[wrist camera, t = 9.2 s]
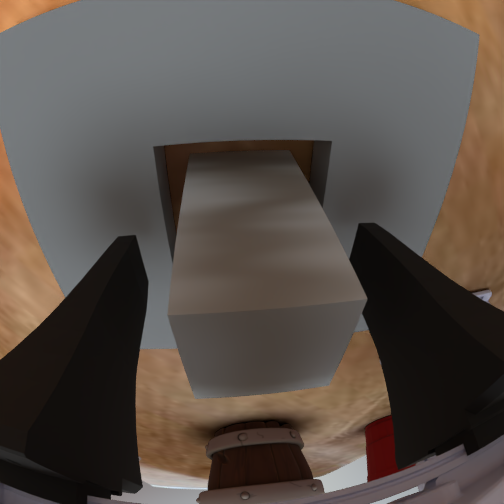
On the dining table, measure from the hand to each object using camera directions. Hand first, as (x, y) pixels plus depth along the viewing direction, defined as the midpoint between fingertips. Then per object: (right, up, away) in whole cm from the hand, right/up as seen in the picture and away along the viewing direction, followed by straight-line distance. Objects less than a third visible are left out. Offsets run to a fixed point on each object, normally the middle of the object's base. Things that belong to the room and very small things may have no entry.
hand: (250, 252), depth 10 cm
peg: (0, +2, +3) cm, 4 cm away
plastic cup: (+21, -27, +32) cm, 47 cm away
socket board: (0, +3, +3) cm, 4 cm away
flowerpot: (0, -23, +25) cm, 33 cm away
